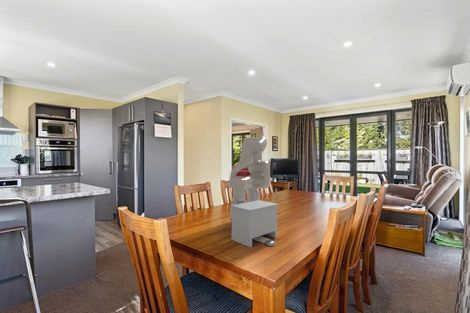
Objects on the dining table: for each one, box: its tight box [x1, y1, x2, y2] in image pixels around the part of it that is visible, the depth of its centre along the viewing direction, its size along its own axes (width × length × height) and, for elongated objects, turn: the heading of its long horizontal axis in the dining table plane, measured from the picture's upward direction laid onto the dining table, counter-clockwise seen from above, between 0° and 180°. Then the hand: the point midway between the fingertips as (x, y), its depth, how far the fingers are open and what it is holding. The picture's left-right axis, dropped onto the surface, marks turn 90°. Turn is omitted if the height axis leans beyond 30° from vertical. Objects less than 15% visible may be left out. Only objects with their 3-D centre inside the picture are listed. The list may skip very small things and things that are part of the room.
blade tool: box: [252, 235, 271, 244], centre depth 132 cm, size 5×24×9 cm, turn 42°
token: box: [265, 239, 276, 247], centre depth 121 cm, size 5×5×2 cm
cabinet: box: [230, 199, 279, 248], centre depth 129 cm, size 23×15×19 cm, turn 132°
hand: (238, 228), depth 139 cm, fingers closed on blade tool, 4 cm apart
